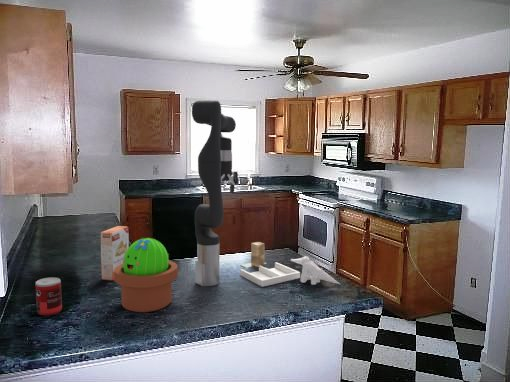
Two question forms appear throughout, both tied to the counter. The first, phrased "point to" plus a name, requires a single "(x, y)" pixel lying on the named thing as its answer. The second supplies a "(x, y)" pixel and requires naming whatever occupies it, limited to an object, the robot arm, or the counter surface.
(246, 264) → the sage mat
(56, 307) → the canned food
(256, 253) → the oak block
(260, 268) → the tray
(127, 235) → the cracker box
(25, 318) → the counter surface
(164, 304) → the potted cactus
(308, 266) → the dinosaur statue
